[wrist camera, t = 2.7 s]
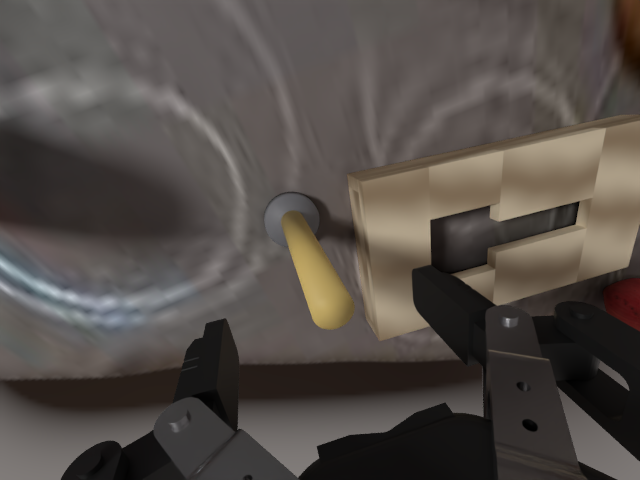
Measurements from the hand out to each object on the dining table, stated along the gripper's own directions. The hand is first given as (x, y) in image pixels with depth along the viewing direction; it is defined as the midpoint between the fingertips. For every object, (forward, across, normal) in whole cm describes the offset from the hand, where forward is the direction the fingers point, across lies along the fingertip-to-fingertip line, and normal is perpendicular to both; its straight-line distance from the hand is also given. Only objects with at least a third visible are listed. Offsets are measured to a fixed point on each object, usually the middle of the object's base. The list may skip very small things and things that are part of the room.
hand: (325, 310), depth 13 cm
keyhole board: (+13, -18, +4) cm, 23 cm away
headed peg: (+13, 0, 0) cm, 13 cm away
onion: (+13, -34, +16) cm, 40 cm away
